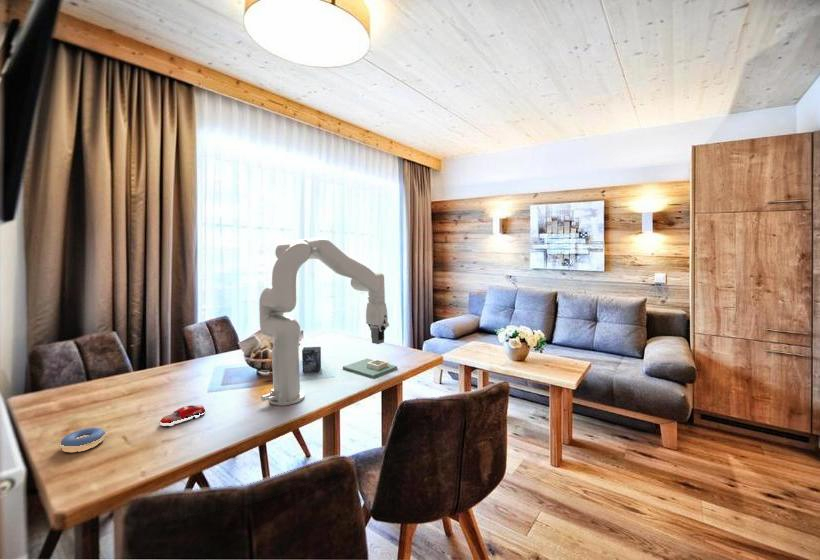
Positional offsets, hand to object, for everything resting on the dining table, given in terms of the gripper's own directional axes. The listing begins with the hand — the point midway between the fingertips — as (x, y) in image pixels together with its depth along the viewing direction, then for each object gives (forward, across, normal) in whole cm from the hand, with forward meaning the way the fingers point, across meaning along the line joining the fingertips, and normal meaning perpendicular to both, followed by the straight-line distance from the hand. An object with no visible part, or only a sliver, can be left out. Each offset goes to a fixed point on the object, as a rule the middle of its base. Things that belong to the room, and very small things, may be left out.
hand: (377, 338), depth 173 cm
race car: (+14, -16, -78) cm, 81 cm away
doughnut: (+13, -20, -102) cm, 105 cm away
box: (+14, -23, -21) cm, 34 cm away
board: (+15, -3, -3) cm, 15 cm away
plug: (+2, 0, 0) cm, 2 cm away
